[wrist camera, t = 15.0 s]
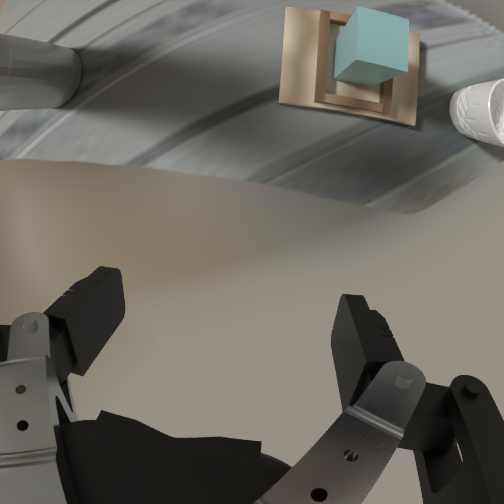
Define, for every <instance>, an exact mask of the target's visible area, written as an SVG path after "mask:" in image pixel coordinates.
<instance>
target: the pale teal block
mask: <svg viewBox="0 0 504 504" xmlns="http://www.w3.org/2000/svg"><path fill="white" fill-rule="evenodd" d="M408 54H409V20H408V19H404V18H401V17H398V16H394V15H391V14H387V13H384V12H380V11H376V10H372V9H368V8H363V7H359V6H358V7H357V9H356V10H355V12H354V13H353V15H352V16H351V17H350V19H349V20H348V22H347V23H346V25H345V26H344V28H343V29H342V31H341V32H340V34H339V35H338V37H337V39H336V42H335V58H334V72H333V80H338V81H344V82H349V83H354V84H359V85H364V86H369V87H372V86H374V85H377V84H379V83H382V82H384V81H386V80H389V79H391V78H394V77H397V76H399V75H402V74H404V73H407V72H408Z"/></svg>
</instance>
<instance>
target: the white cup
mask: <svg viewBox="0 0 504 504" xmlns="http://www.w3.org/2000/svg"><path fill="white" fill-rule="evenodd" d="M449 113H450V116H451V119H452V123H453V125H454V126H455V127H456V129H457V130H458V131H459V133H461V134H463V135H465V136H466V137H468V138H473V139H476V140H479V141H482V142H486V143H489V144H493V145H497V146H501V147H504V79H500V80H494V81H489V82H484V83H480V84H476V85H472V86H469V87H466V88H461V89H460V90H458V91H456V92H455V93H454V94H453V96H452V98H451V100H450V110H449Z"/></svg>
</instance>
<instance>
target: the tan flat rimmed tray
mask: <svg viewBox="0 0 504 504" xmlns="http://www.w3.org/2000/svg"><path fill="white" fill-rule="evenodd" d="M351 16H352V15H347V14H342V13H336V12H330V11H324V10H321V11H316V10H309V9H300V8H290V7H286V13H285V27H284V41H283V54H282V67H281V80H280V92H279V104H284V105H294V106H303V107H311V108H318V109H326V110H332V111H339V112H345V113H351V114H357V115H362V116H368V117H373V118H378V119H383V120H387V121H392V122H396V123H401V124H405V125H413V126H415V121H416V110H417V97H418V80H419V34H418V33H415V32H411V31H409V54H408V72H407V73H404V74H402V75H399V76H397V77H394V78H391V79H389V80H386V81H384V82H382V83H379V84H377V85H374V86H372V87H369V86H364V85H359V84H354V83H349V82H344V81H338V80H333V72H334V58H335V42H336V39H337V37H338V35H339V34H340V32H341V31H342V29H343V28H344V26H345V25H346V23H347V22H348V20H349V19H350V17H351Z"/></svg>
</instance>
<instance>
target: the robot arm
mask: <svg viewBox="0 0 504 504" xmlns="http://www.w3.org/2000/svg"><path fill="white" fill-rule="evenodd" d="M81 75H82V64H81V60H80V57H79V55H78V54H77V53H76V52H75V51H74V50H72V49H69V48H66V47H62V46H58V45H54V44H50V43H46V42H41V41H36V40H32V39H27V38H22V37H16V36H10V35H4V34H0V111H5V110H20V109H47V108H58V107H60V106H62V105H64V104H65V103H67V102H68V101H69V100H70V99H71V98H72V96H73V95H74V93H75V92H76V90H77V88H78V86H79V83H80V80H81ZM124 314H125V299H124V292H123V284H122V275H121V272H120V270H119V269H118V268H111V267H104V266H100V267H99V268H97V269H96V270H95V271H94V272H93V273H91V274H90V275H89V276H88V277H86V278H84V279H82V280H80V281H78V282H76V283H75V284H74V285H73V286H71V287H70V288H69V290H68V291H66V292H65V293H64V294H63V296H61V297H59V298H58V299H57V300H56V301H55V302H54V303H53V304H52V305H51V306H50V307H49V308H48V309H47V310H46V311H45V312H44V313H39V312H31V313H26V314H23V315H21V316H19V317H18V318H16V319H15V320H14V321H13V323H12V325H0V504H361V503H362V502H363V500H364V499H365V498H366V496H367V495H368V493H369V492H370V490H371V489H372V487H373V486H374V484H375V482H376V481H377V480H378V478H379V476H380V475H381V473H382V472H383V470H384V469H385V467H386V465H387V464H388V462H389V460H390V458H391V457H392V455H393V453H394V452H395V450H396V448H397V447H398V448H403V449H409V450H413V452H414V456H415V461H416V466H417V471H418V476H419V481H420V487H421V492H422V498H423V504H504V420H503V418H502V416H501V414H500V412H499V410H498V408H497V406H496V404H495V402H494V400H493V398H492V396H491V394H490V392H489V390H488V388H487V387H486V385H485V384H483V382H482V381H480V380H479V379H477V378H475V377H473V376H469V375H460V376H457V377H455V379H453V381H452V382H451V384H450V386H449V387H446V386H441V385H436V384H431V383H427V382H426V378H425V376H424V374H423V373H422V371H420V369H418V368H417V367H416V366H414V365H412V364H410V363H407V362H405V361H404V359H403V357H402V354H401V352H400V350H399V348H398V346H397V343H396V341H395V339H394V338H393V334H392V332H391V330H389V326H388V324H387V322H386V319H385V318H384V317H383V316H382V315H381V314H380V313H378V312H377V311H376V310H370V309H369V307H368V304H367V302H366V300H365V298H364V296H362V295H350V294H342V296H341V298H340V301H339V305H338V310H337V314H336V318H335V322H334V326H333V330H332V335H331V348H332V354H333V359H334V364H335V370H336V375H337V381H338V386H339V392H340V398H341V404H342V410H343V412H342V414H341V415H340V416H339V417H338V418H337V419H336V421H335V422H334V423H333V424H332V425H331V427H330V428H329V429H328V430H327V431H326V432H325V433H324V435H323V436H322V437H321V438H320V439H319V440H318V441H317V442H316V443H315V444H314V446H313V447H312V448H311V449H310V450H309V451H308V452H307V453H306V454H305V455H304V456H303V457H302V458H301V459H300V460H299V462H297V463H296V464H295V465H294V466H293V467H291V466H289V465H288V464H286V463H284V462H282V461H280V460H278V459H276V458H274V457H272V456H269V455H266V454H263V453H261V442H260V441H251V440H241V439H233V438H226V437H199V438H174V437H171V436H168V435H166V434H164V433H162V432H160V431H157V430H155V429H153V428H151V427H149V426H147V425H145V424H143V423H141V422H139V421H137V420H134V419H131V418H127V417H123V416H120V415H116V414H112V413H109V412H106V411H103V410H101V412H100V414H99V416H98V418H97V419H96V420H82V421H78V420H77V415H76V411H75V406H74V402H73V397H72V392H71V386H70V382H69V379H68V375H69V374H70V373H74V374H77V375H80V376H84V375H85V373H86V371H87V370H88V369H89V367H90V366H91V364H92V363H93V361H94V360H95V358H96V357H97V356H98V354H99V353H100V351H101V350H102V348H103V347H104V345H105V344H106V343H107V341H108V340H109V338H110V337H111V336H112V334H113V333H114V331H115V330H116V328H117V327H118V326H119V324H120V323H121V322H122V320H123V318H124ZM457 443H458V445H459V448H460V450H461V454H462V459H463V461H462V460H461V457H460V454H459V450H458V447H457Z"/></svg>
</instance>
